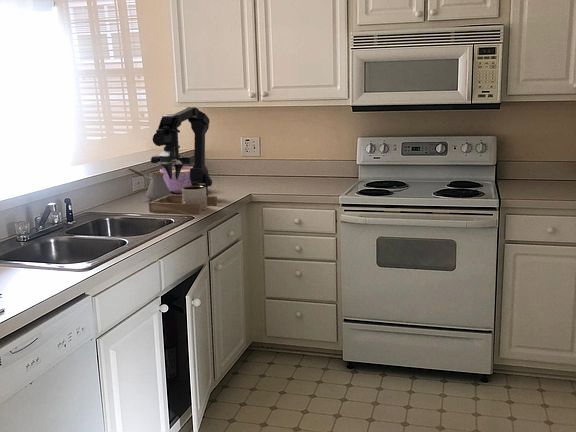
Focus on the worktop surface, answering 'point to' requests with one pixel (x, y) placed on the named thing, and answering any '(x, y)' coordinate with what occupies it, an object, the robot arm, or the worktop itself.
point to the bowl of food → (178, 183)
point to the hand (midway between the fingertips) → (173, 179)
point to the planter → (195, 196)
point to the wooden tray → (178, 205)
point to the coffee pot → (155, 186)
